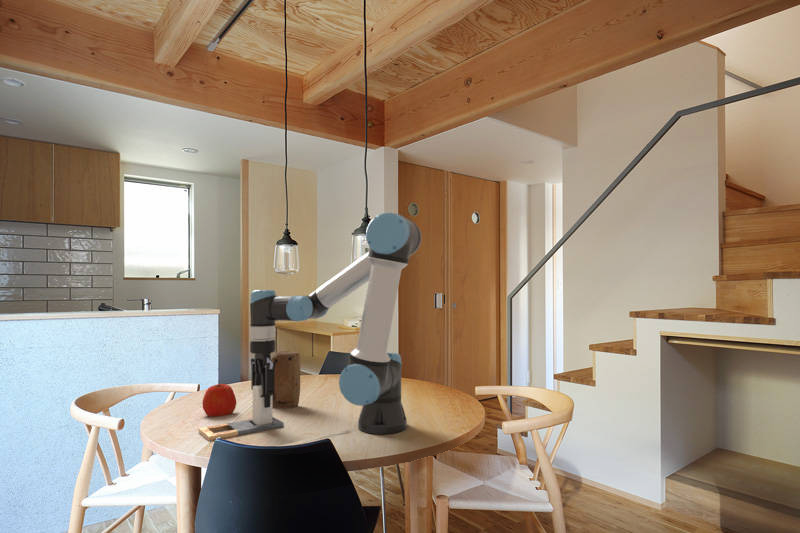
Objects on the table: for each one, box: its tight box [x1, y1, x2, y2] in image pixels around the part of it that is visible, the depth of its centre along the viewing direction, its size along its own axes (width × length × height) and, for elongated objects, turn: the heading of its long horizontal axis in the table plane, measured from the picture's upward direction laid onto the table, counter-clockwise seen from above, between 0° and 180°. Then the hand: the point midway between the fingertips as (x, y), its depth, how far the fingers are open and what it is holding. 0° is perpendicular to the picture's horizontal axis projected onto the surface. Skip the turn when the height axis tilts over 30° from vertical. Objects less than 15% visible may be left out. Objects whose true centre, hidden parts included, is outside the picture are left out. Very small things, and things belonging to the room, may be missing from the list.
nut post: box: [252, 385, 274, 425], centre depth 144 cm, size 4×4×11 cm
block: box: [271, 350, 301, 409], centre depth 170 cm, size 11×8×20 cm
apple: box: [202, 383, 237, 418], centre depth 159 cm, size 11×11×11 cm
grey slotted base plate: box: [198, 416, 285, 442], centre depth 140 cm, size 10×22×2 cm, turn 129°
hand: (262, 416), depth 144 cm, fingers closed on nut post, 4 cm apart
